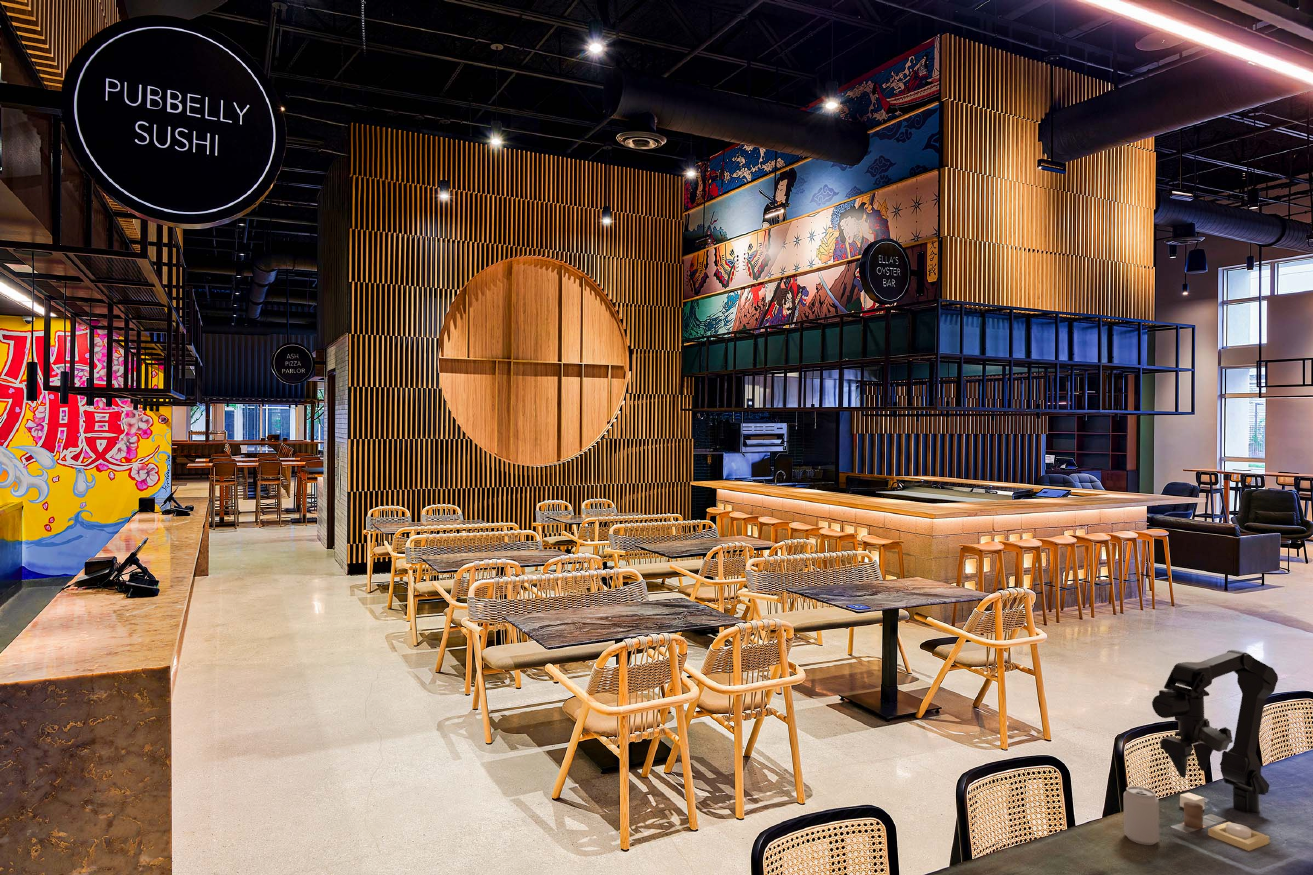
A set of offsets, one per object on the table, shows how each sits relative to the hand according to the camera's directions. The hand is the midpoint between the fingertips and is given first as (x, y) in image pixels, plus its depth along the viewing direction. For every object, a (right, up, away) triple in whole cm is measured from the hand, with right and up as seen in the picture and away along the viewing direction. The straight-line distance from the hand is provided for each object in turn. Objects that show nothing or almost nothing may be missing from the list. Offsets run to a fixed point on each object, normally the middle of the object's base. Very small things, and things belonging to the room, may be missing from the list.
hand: (1193, 773), depth 209 cm
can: (-20, -12, -11) cm, 26 cm away
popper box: (+3, -12, -13) cm, 17 cm away
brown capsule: (-3, -11, -5) cm, 12 cm away
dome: (+3, -11, -13) cm, 17 cm away
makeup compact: (-1, -12, -4) cm, 13 cm away
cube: (+4, -13, +6) cm, 14 cm away
